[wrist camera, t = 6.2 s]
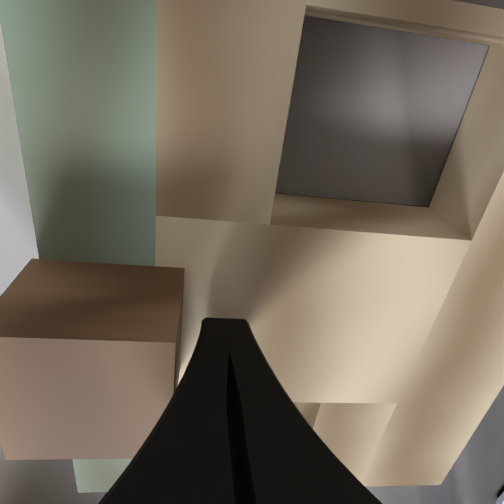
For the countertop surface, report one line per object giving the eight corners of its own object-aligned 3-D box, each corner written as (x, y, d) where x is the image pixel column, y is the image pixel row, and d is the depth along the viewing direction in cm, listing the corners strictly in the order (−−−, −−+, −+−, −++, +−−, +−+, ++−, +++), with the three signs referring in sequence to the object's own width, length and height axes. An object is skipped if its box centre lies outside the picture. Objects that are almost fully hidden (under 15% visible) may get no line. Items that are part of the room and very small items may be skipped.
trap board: (619, 45, 11) (718, 47, 9) (415, 435, 20) (440, 484, 17) (39, -53, 9) (-17, -84, 7) (94, 436, 17) (77, 493, 15)
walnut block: (184, 268, 11) (175, 342, 8) (179, 370, 12) (170, 458, 10) (31, 258, 10) (-33, 335, 7) (50, 367, 12) (5, 459, 9)
